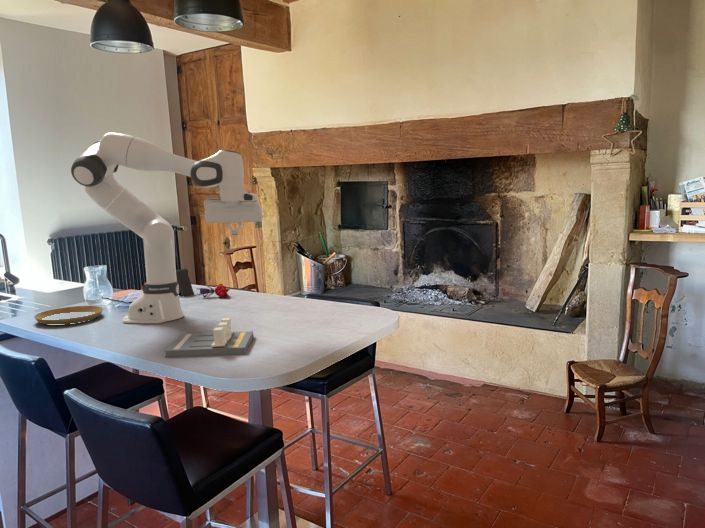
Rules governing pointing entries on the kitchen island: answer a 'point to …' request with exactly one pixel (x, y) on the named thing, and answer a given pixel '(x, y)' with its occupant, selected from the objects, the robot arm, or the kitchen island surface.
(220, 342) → the switch near
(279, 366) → the kitchen island surface
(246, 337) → the switch board
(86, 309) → the plant saucer
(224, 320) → the switch far
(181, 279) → the phone stand
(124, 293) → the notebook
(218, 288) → the figurine
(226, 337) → the switch mid
